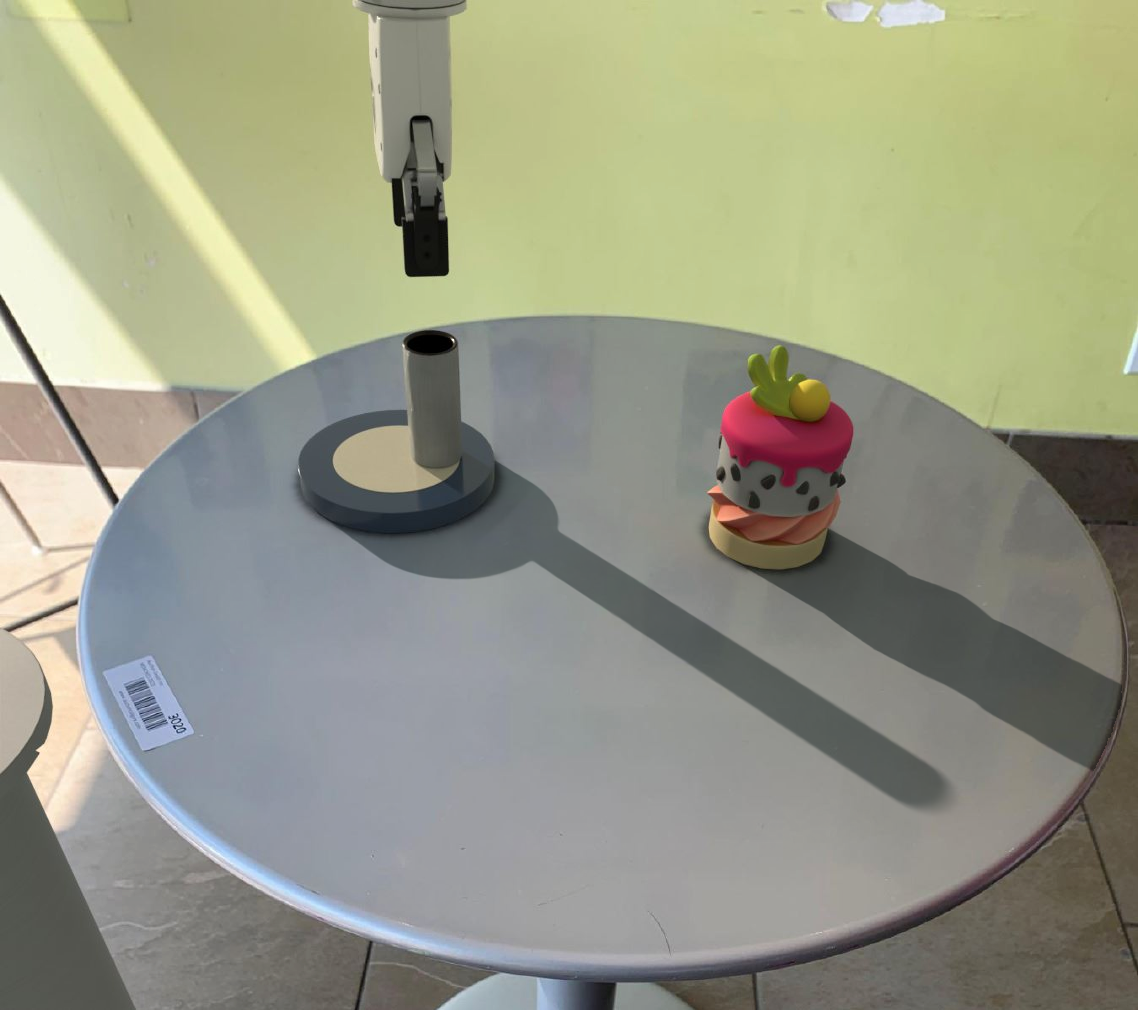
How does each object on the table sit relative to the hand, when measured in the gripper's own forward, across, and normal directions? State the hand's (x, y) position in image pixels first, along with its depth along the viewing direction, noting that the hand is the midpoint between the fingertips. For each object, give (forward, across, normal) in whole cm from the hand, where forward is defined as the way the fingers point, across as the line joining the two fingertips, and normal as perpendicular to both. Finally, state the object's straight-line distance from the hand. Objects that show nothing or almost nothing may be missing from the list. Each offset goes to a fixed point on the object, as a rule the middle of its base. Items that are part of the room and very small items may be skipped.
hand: (420, 249), depth 84 cm
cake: (+20, +13, +27) cm, 36 cm away
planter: (+18, 0, +1) cm, 18 cm away
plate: (+20, 0, -3) cm, 20 cm away
